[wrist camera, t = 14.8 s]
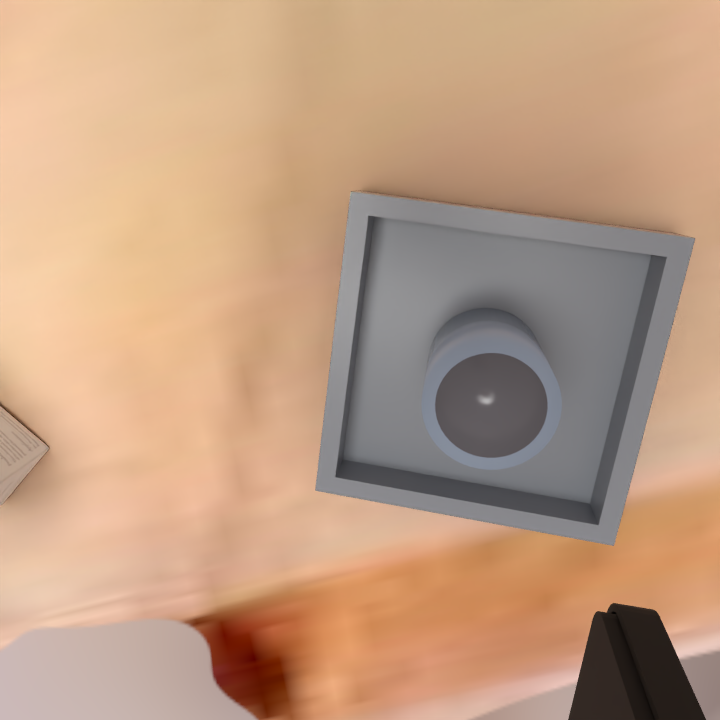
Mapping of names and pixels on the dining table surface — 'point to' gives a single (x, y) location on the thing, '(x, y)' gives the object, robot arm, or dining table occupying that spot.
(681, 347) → the dining table surface
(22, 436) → the skincare box
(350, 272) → the tray
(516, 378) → the cup
